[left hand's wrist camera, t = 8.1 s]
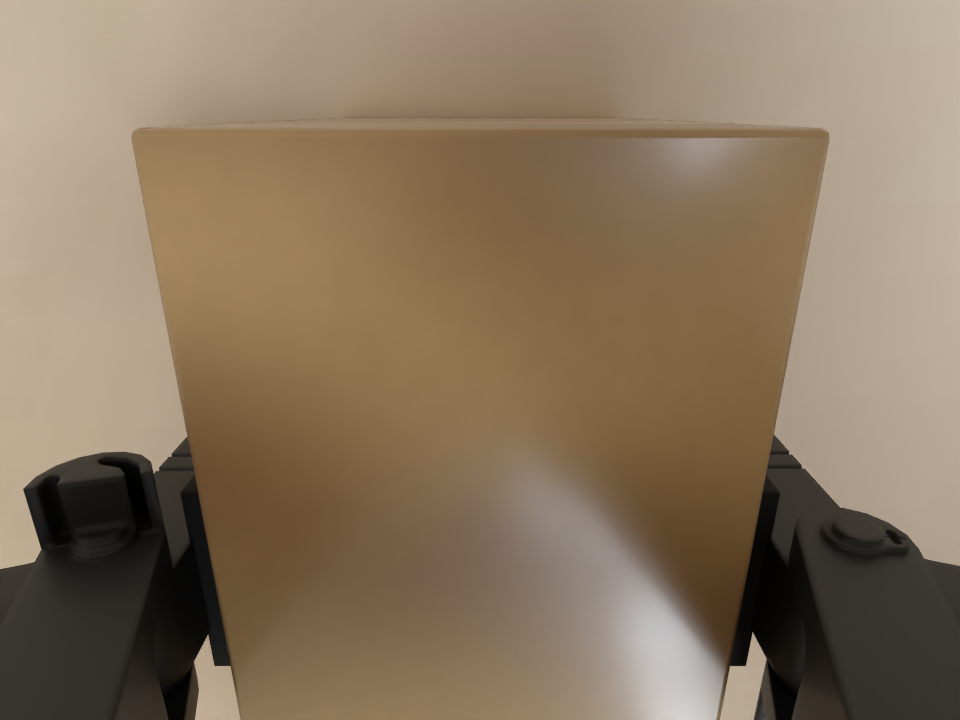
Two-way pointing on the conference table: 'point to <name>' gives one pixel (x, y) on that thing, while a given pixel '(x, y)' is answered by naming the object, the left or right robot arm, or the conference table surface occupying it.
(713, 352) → the post
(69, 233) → the conference table surface
